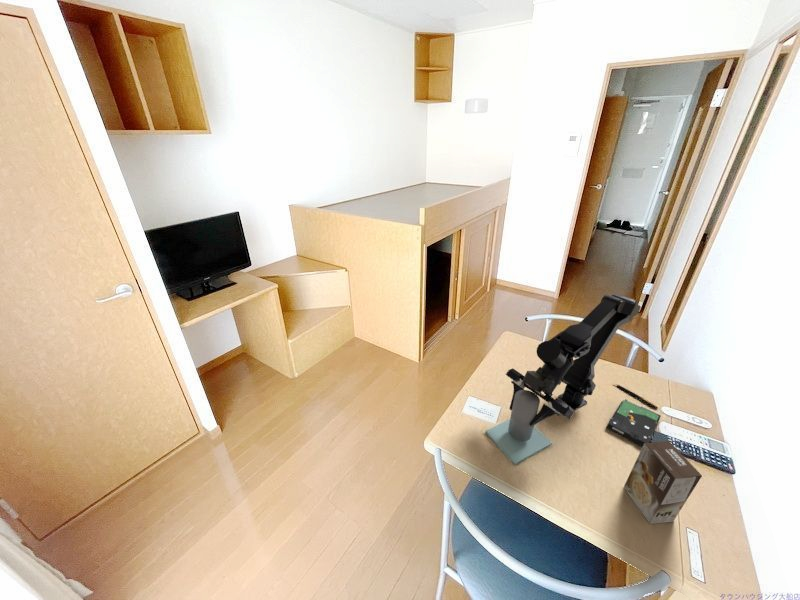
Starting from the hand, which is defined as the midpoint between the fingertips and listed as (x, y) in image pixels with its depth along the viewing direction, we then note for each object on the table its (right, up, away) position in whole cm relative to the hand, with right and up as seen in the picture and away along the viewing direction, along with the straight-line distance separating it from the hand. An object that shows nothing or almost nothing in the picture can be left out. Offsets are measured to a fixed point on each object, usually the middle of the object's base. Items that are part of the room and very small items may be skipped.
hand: (520, 417), depth 90 cm
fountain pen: (+45, 0, +20) cm, 49 cm away
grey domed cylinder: (+1, -5, +4) cm, 7 cm away
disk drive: (+38, -6, +10) cm, 39 cm away
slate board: (+1, -8, +5) cm, 9 cm away
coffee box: (+26, -16, -12) cm, 33 cm away
